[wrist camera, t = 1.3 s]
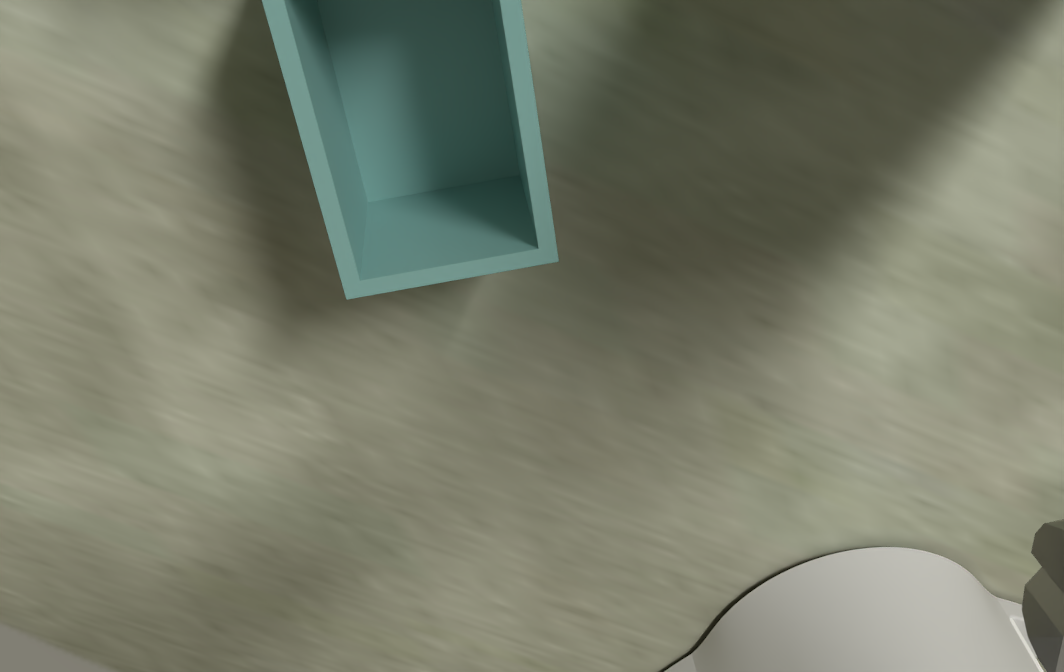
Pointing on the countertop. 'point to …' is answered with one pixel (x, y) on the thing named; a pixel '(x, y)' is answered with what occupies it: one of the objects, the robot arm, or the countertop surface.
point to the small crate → (418, 136)
